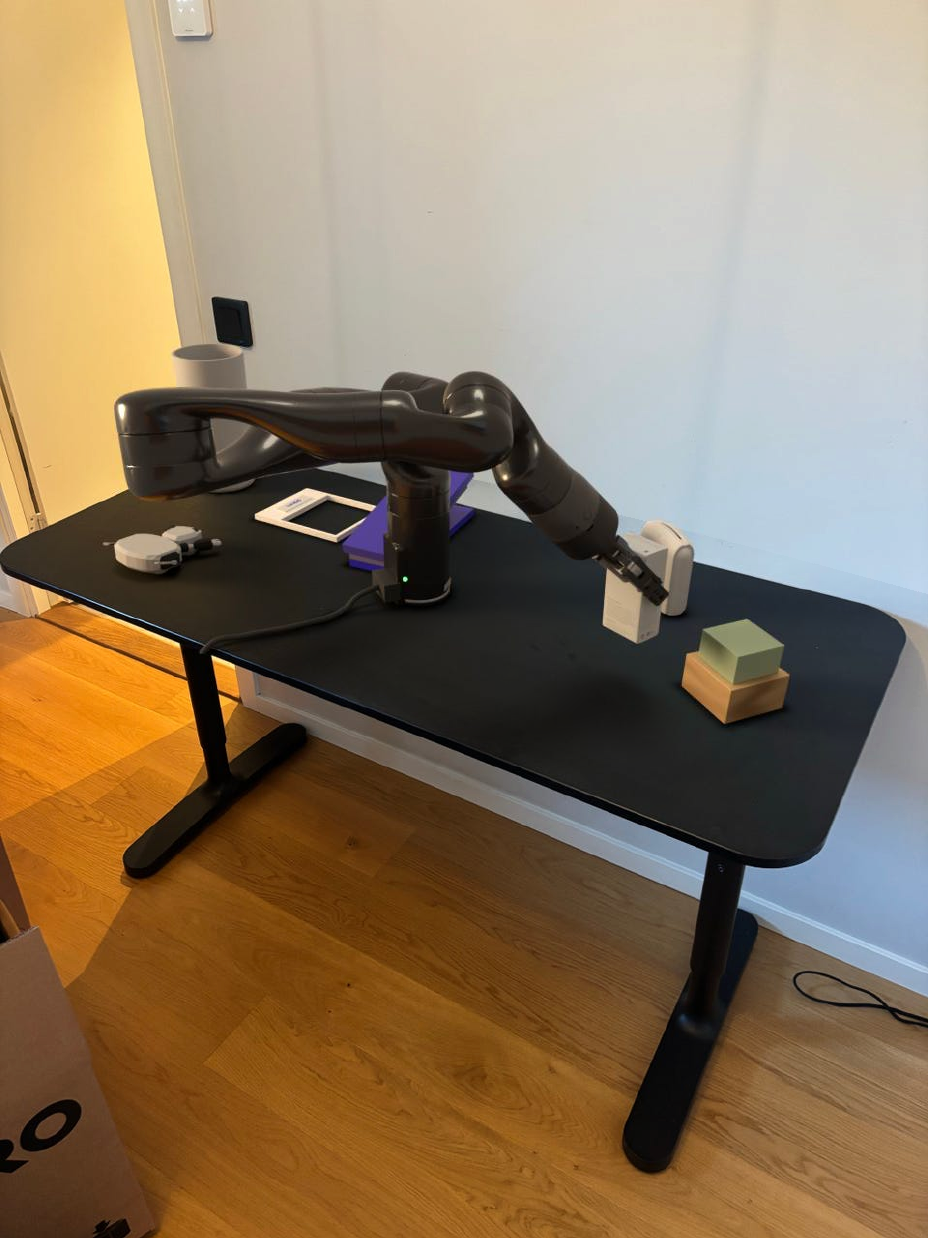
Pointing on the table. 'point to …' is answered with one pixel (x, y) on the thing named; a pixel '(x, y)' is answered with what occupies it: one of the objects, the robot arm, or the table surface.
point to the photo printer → (673, 563)
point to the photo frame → (302, 503)
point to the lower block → (733, 691)
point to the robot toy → (161, 548)
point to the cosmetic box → (635, 594)
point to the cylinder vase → (214, 385)
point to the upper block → (740, 651)
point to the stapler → (369, 534)
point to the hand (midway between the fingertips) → (645, 585)
